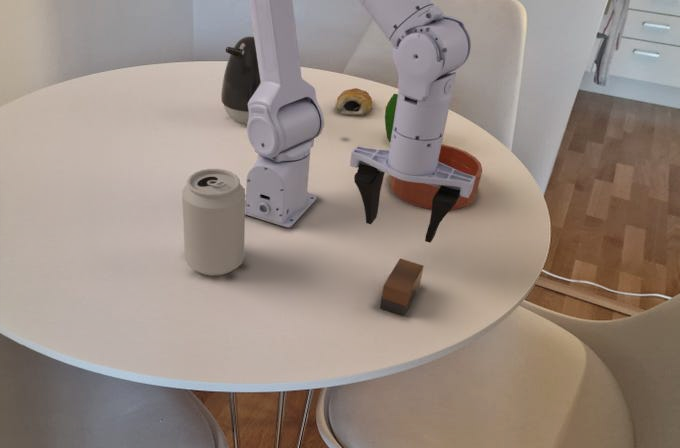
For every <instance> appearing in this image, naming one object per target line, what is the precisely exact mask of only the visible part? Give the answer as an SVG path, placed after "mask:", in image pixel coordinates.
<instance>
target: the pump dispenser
mask: <svg viewBox="0 0 680 448" xmlns="http://www.w3.org/2000/svg"><path fill="white" fill-rule="evenodd" d="M225 52H226V54H229V57H228V60H227V62H226V63H227V64H226V65H225V70H224V74H223V79H222V85H221V94H220V98H221V99H220V100H221V103H222V104H223V107H224V110H225V112H226V114H227V115H228V116H229V118H231V119H232V120H233V121H235V122H238V123H240V124H244V125H247V123H248V119H249V110H248V102H249V100H250V99H251V97H252V96H253V94H254V93H255V91H256V90H257V88H258V87H259V85H260V83H261V81H260V74H259V67H258V60H257V53H256V47H255V40H254V36H250V35H249V36H245V37H242V38H240V39H239V40H238V41H237V42H236V44H235V45H234V46H233V47H232V46H226V48H225Z"/></svg>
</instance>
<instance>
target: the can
mask: <svg viewBox="0 0 680 448" xmlns="http://www.w3.org/2000/svg"><path fill="white" fill-rule="evenodd" d="M181 199H182V220H183V221H182V223H183V224H182V225H183V243H184V244H183V245H184V261H185V262H186V264H187V266H188V267H190V268H191V269H192V270H193V271H196V272H197V273H199V274H202V275H204V276H209V277H216V276H217V277H219V276H223V275H227V274H230V273H232V272H233V271H234V270H236V269H237V268H238V267H240V265H242V264H243V261H244V259H245V231H246V230H245V224H246V223H245V221H246V214H245V205H246V190H245V188H244V186H243V185H242V184H241V179H240V178H239V176H238V175H236V174H235V173H234V172H232V171H229V170H227V169H220V168H207V169H201V170H198V171H195V172H194V173H192V174H190V176H188V178H187V180H186V184H185V186H184V187H183V189H182V191H181Z"/></svg>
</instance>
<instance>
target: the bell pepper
mask: <svg viewBox="0 0 680 448" xmlns="http://www.w3.org/2000/svg"><path fill="white" fill-rule="evenodd" d="M397 97H398V93H393V95H392V96H391V97H390V99H389V100H388V102H387V105H386V106H385V111H384V125H385V133H386V139H387V140H388V142H389V143H390V141H391V135H392V129H393V123H394V116H395V110H396V104H397Z"/></svg>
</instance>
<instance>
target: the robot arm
mask: <svg viewBox="0 0 680 448" xmlns="http://www.w3.org/2000/svg"><path fill="white" fill-rule="evenodd" d="M293 2H294V1H293V0H248V5H249V11H250V19H251V26H252V32H253V37H254V40H255V47H256V53H257V60H258V67H259V74H260V81H261V83H260V85H259V87H258V88H257V90H256V91H255V93H254V94H253V96H252V97H251V99H250V100H249V102H248V110H249V119H248V123H247V124H246V133H247V134H246V135H247V138H248V141H249V144H250V145H251V147H252V148H253V149H254V152H255V153H256V154H257V158H256V161H255V163H254V165H253V166H252V167H251V168H250V170H249V171H248V173H247V176H246V190H245V216H249V217H253V218H256V219H259V220H262V221H265V222H268V223H271V224H275V225H277V226H279V227H280V226H281V227H284V228H286V229H287V228H288V229H289V228H292V226H293V225H294V224H295V223H296V222H297V221H298V220H299V219H300V218H301V217H302V215H304V214H305V212H306V211H308V209H309V208H310V207H311V206H312V205H313V204H314V203H315V201H316V200H317V198H318V197H317V195H315V194H312V193H309V192H308V187H309V186H308V185H309V174H310V160H311V149H312V148H313V147H314V143H315V139H316V138H318V137H319V136H320V135H321V134H322V133H323V130H324V127H325V118H324V113H323V111H322V110H323V109H322V108H321V106H320V104H319V102H318V99H317V93H316V88H315V87H314V86H313V85H312V84H311V83H310V82H308V81H306V79H304V78H303V77H302V70H301V69H302V68H301V59H300V51H299V43H298V36H297V28H296V19H295V13H294V12H295V11H294V9H295V8H294V3H293ZM359 2H360V4H361V5H362V6H363V8H364V9H365V11H366V12H367V13H368V14H369V16H370V17H371V18H372V19H373V21H374V22H375V24H376V26H378V27H379V29H380V30H381V31H382V33H383V34H384V36H385V37H386V39H388V41H389V42H390V43H391V44H392V47H394V48H393V49H392V60H393V64H394V67H395V69H396V71H397V75H398V82H397V88H398V91H397V94H398V97H397V104H396V110H395V116H394V123H393V129H392V135H391V141H390V142H389V148H388V149H380V148H371V147H365V146H360V145H357V146H355V148H354V149H352V151H351V153H350V161H349V167H353V168H356V169H357V171H356V173H355V174H354V176H353V178H354V179H353V180H354V183H355V186H356V187H357V189H358V192H359V194H360V196H361V200H362V202H363V208H364V213H365V223H366V224H367V225H372V224H373V223H374V221H375V220H376V219H377V217H378V214H379V213H378V211H379V206H380V197H381V190H382V186H383V181H384V177H385V174H387V175H389V176H390V175H391V176H393V177H395V178H397V179H400V180H404V181H408V182H416V183H425V184H429V185H432V186H436V187H440V188H439V190H438V191H437V193H436V194H435V196H434V197H433V200H432V209H431V212H430V219H429V223H428V227H427V229H426V233H425V238H424V242H426V243H432V242H433V241H434V238H435V236H436V233H437V231H438V229H439V226H440V224H441V222H442V221H443V220H444V218H445V217H446V216H447V214H448V213H449V212H450V211H451V209H452V208H453V206H454V205H455V204H456V202H457V200H458V198H459V197H460V196H462V197H466V198H469V196H470V194H471V192H472V190H473V186H474V182H475V178H476V177H475V176H472V175H468V174H465V173H463V172H460V171H458V170H456V169H454V168H451V167H449V166H447V165H445V164H443V163H440V162H438V159H439V154H440V149H441V144H443V139H444V134H445V129H446V125H447V120H448V115H449V111H450V107H451V101H452V95H453V90H454V85H455V80H456V76H457V72H456V71H457V70H458V69H459V68H461V67H462V66H464V65H465V63H466V62H467V60H468V59H469V57H470V54H471V50H472V41H471V37H470V33H469V32H468V31H469V30H468V29H467V28H466V26H465V24H464V22H463V21H462V20H461V19H459V18H458V17H455V16H451V15H446V14H444V11H443V10H442V9H441V8H440V5H435V4H434V3H433V1H432V0H359Z"/></svg>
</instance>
